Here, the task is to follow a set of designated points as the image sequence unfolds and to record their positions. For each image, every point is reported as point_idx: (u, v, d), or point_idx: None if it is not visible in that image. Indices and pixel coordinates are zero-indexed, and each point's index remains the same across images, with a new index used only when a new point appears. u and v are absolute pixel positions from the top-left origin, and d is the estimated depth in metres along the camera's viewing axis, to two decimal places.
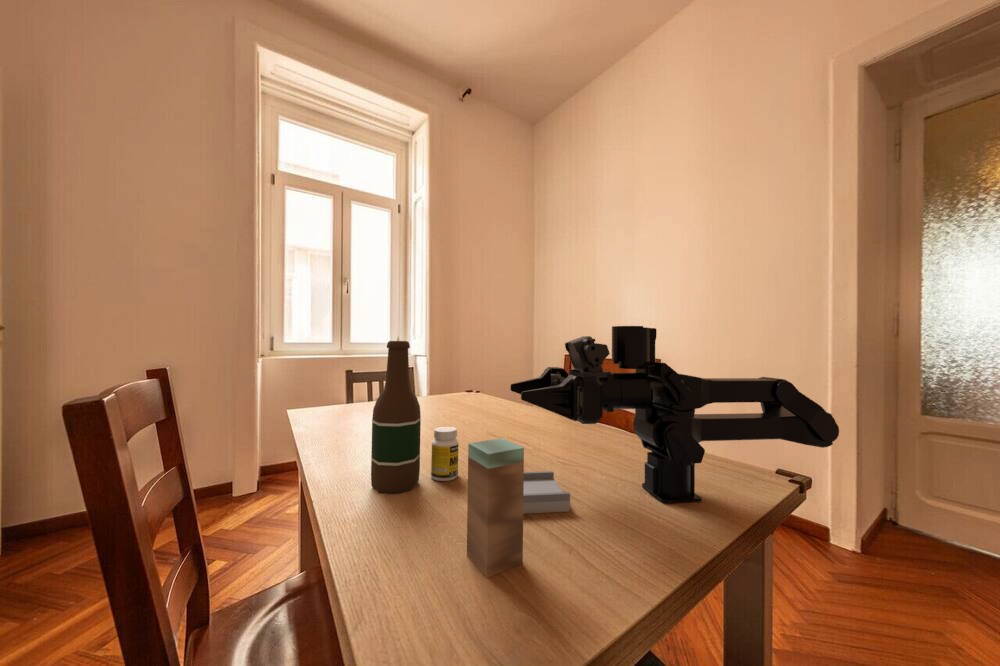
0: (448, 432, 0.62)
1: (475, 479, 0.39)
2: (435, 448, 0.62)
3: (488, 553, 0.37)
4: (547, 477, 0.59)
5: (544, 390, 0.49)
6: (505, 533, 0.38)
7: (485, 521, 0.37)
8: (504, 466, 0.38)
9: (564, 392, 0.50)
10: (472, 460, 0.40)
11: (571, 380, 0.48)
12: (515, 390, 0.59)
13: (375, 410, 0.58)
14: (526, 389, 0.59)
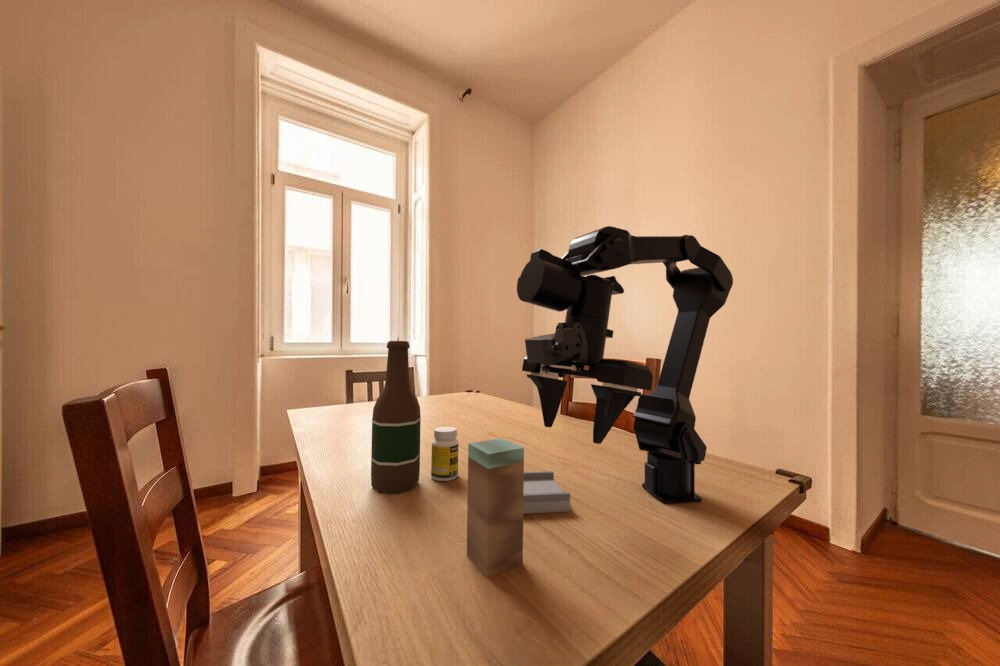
0: (448, 432, 0.62)
1: (475, 479, 0.39)
2: (435, 448, 0.62)
3: (488, 553, 0.37)
4: (547, 477, 0.59)
5: (602, 419, 0.43)
6: (505, 534, 0.38)
7: (485, 521, 0.37)
8: (504, 466, 0.38)
9: None
10: (472, 460, 0.40)
11: (606, 391, 0.41)
12: (552, 422, 0.52)
13: (375, 410, 0.58)
14: (552, 408, 0.52)
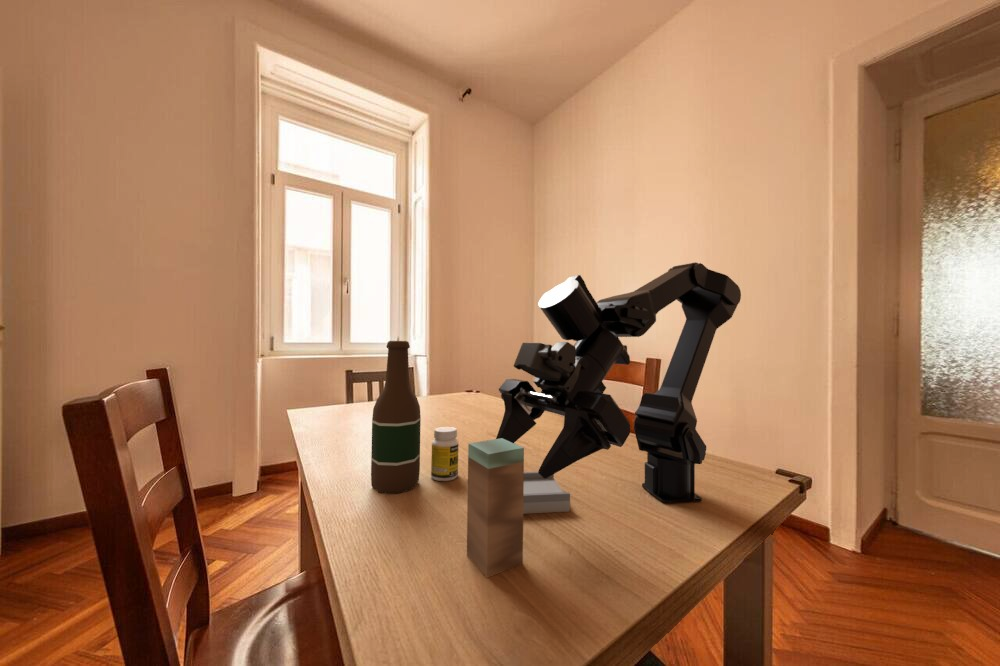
0: (448, 432, 0.62)
1: (475, 479, 0.39)
2: (435, 448, 0.62)
3: (488, 553, 0.37)
4: None
5: (559, 449, 0.38)
6: (505, 534, 0.38)
7: (485, 521, 0.37)
8: (504, 466, 0.38)
9: None
10: (472, 460, 0.40)
11: (579, 418, 0.37)
12: None
13: (375, 410, 0.58)
14: (509, 437, 0.46)
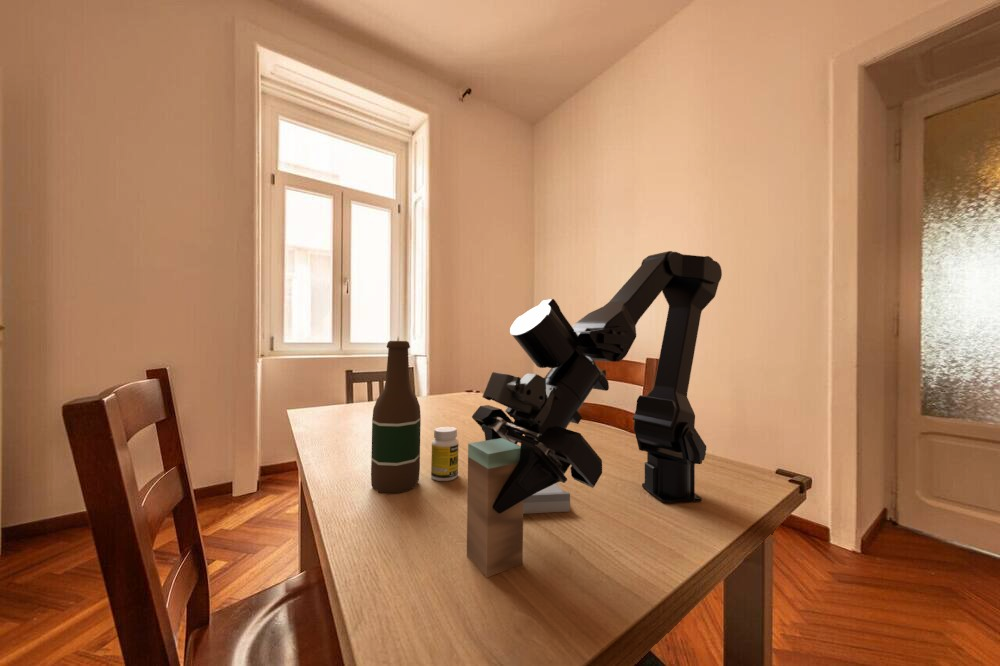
0: (448, 432, 0.62)
1: (475, 479, 0.39)
2: (435, 448, 0.62)
3: (488, 553, 0.37)
4: None
5: (514, 484, 0.37)
6: (505, 533, 0.38)
7: (485, 521, 0.37)
8: (503, 466, 0.38)
9: None
10: (472, 460, 0.40)
11: (533, 452, 0.37)
12: None
13: (375, 410, 0.58)
14: None
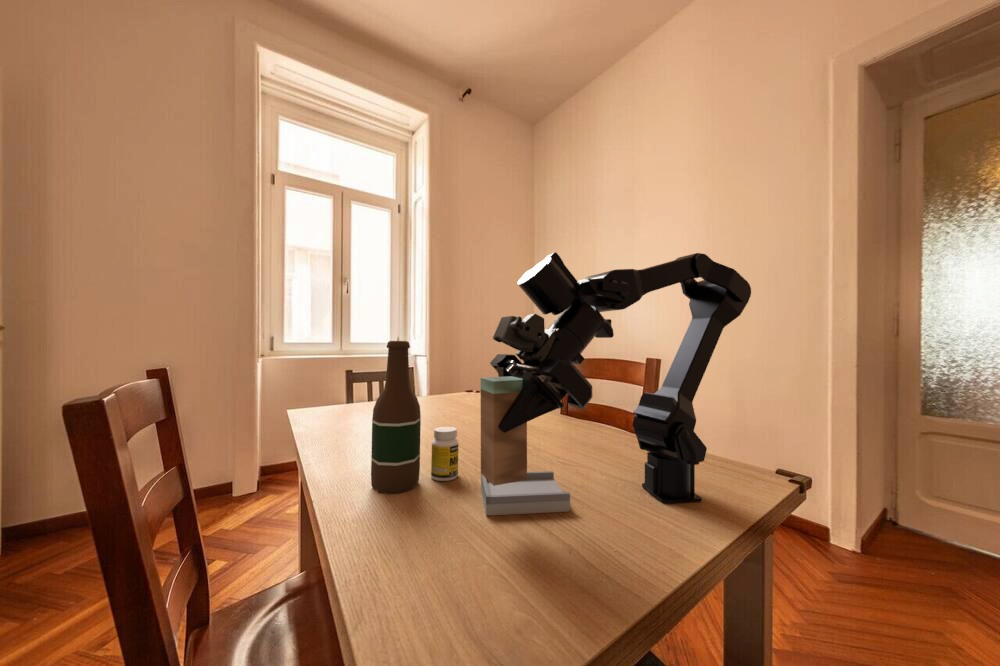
0: (448, 432, 0.62)
1: (485, 406, 0.46)
2: (435, 448, 0.62)
3: (494, 465, 0.43)
4: (547, 477, 0.59)
5: (516, 407, 0.43)
6: (510, 451, 0.44)
7: (492, 438, 0.44)
8: (508, 393, 0.44)
9: (532, 391, 0.44)
10: (483, 391, 0.46)
11: (531, 379, 0.42)
12: None
13: (375, 410, 0.58)
14: None
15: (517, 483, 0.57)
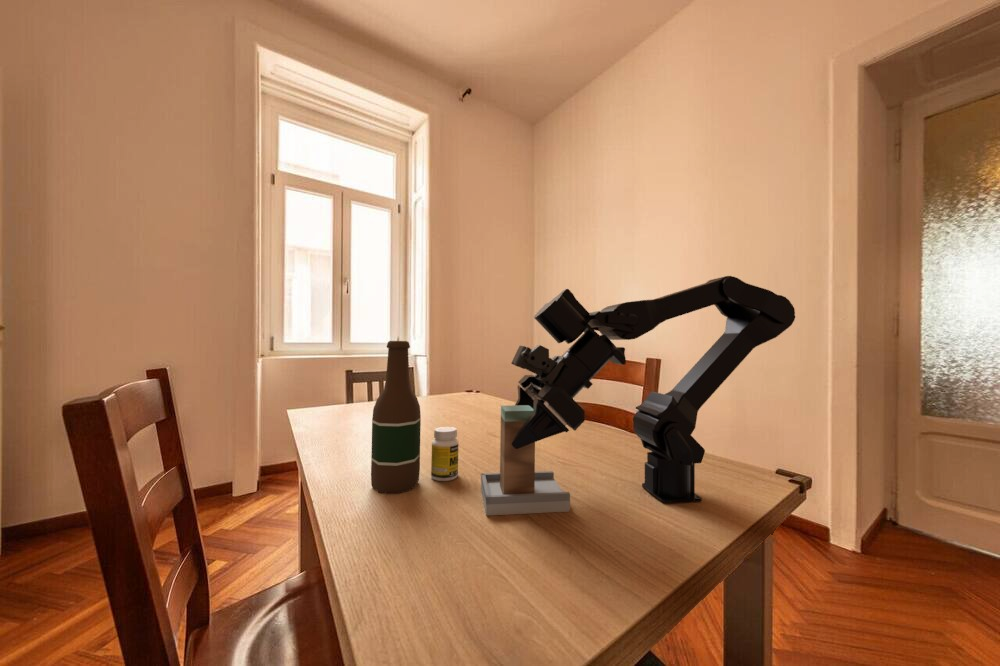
0: (448, 432, 0.62)
1: (502, 430, 0.55)
2: (435, 448, 0.62)
3: (505, 481, 0.52)
4: (547, 477, 0.59)
5: (525, 428, 0.49)
6: (519, 471, 0.52)
7: (503, 458, 0.52)
8: (517, 421, 0.52)
9: (541, 414, 0.49)
10: (501, 417, 0.55)
11: (537, 404, 0.48)
12: None
13: (375, 410, 0.58)
14: None
15: None
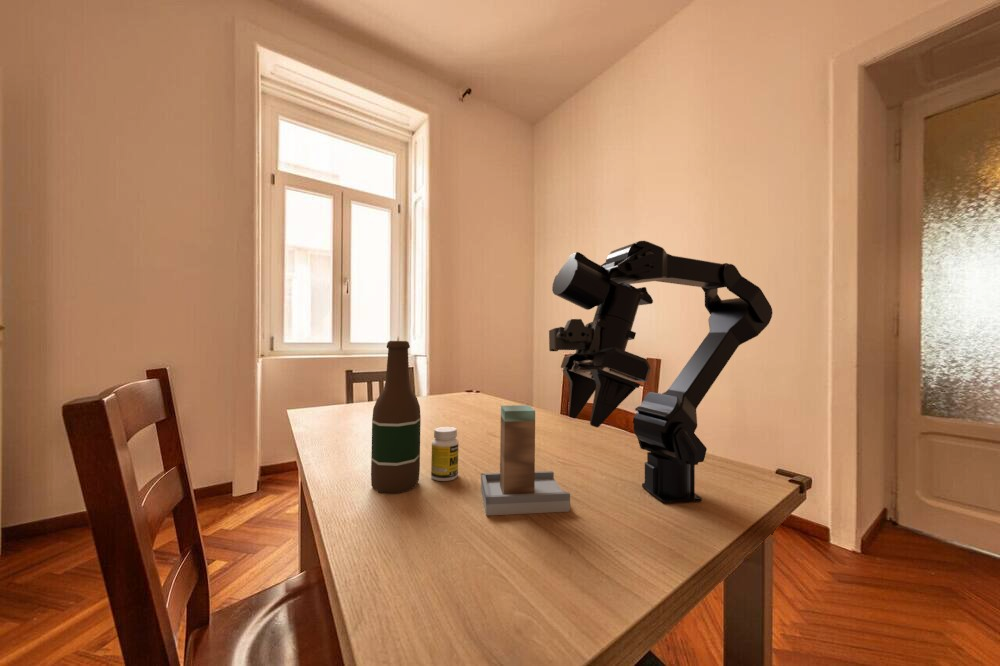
0: (448, 432, 0.62)
1: (502, 430, 0.55)
2: (435, 448, 0.62)
3: (505, 481, 0.52)
4: (547, 477, 0.59)
5: (597, 402, 0.47)
6: (519, 471, 0.52)
7: (503, 458, 0.52)
8: (517, 421, 0.52)
9: (606, 383, 0.47)
10: (501, 417, 0.55)
11: (599, 374, 0.46)
12: (576, 414, 0.56)
13: (375, 410, 0.58)
14: (578, 402, 0.57)
15: None
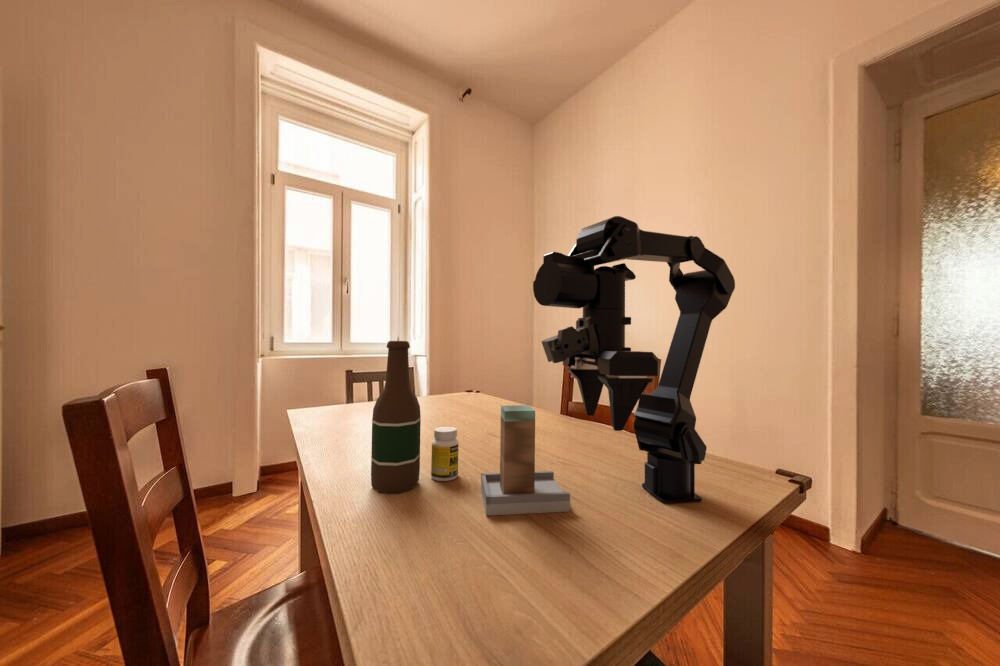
0: (448, 432, 0.62)
1: (502, 430, 0.55)
2: (435, 448, 0.62)
3: (505, 481, 0.52)
4: (547, 477, 0.59)
5: (615, 408, 0.44)
6: (519, 471, 0.52)
7: (503, 458, 0.52)
8: (517, 421, 0.52)
9: (618, 385, 0.44)
10: (501, 417, 0.55)
11: (608, 382, 0.43)
12: (593, 410, 0.54)
13: (375, 410, 0.58)
14: (592, 398, 0.55)
15: None
